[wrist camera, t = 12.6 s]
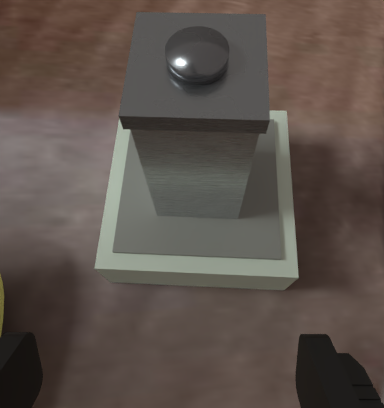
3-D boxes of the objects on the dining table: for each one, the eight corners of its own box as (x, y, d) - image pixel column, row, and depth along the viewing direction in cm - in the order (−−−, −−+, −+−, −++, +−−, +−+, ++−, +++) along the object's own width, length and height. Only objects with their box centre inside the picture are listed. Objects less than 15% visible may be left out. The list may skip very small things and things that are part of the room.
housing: (153, 218, 22) (114, 104, 12) (161, 145, 24) (134, -2, 14) (240, 222, 22) (272, 109, 12) (241, 147, 24) (268, 0, 14)
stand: (110, 282, 25) (92, 267, 21) (131, 138, 29) (120, 104, 26) (284, 290, 24) (299, 276, 20) (275, 142, 29) (287, 108, 25)
